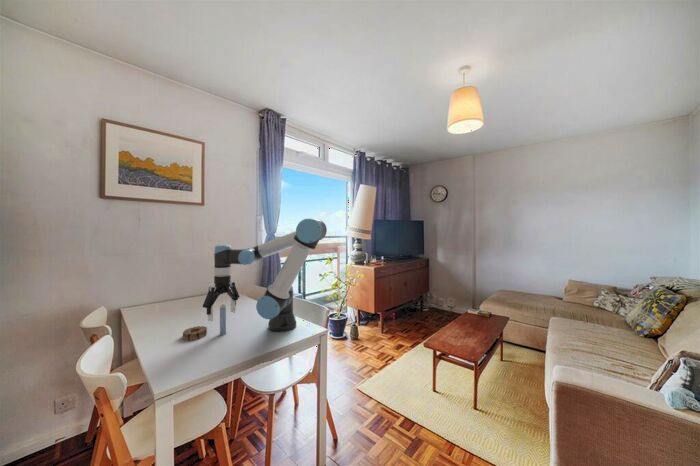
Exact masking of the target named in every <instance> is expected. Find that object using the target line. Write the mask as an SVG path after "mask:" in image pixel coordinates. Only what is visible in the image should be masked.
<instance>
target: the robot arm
mask: <svg viewBox="0 0 700 466" xmlns="http://www.w3.org/2000/svg"><path fill="white" fill-rule="evenodd" d="M327 231H328V228H327V225H326V223H325V222H324V221H322V220H321V219H319V218H313V217H307V218H304V219H302V220H301V221H299V222H298V224H296V228H295V231H293V232H290V233H287V234H284V235H282V236H279V237H277V238H274V239H272V240H269V241H266V242H264V243H261V244H259V245H256V246H253V247H251V248H250V247H249V248H242V249H238V248H237V249H232V246H231V245H230V244H217V245H215V246H214V253H213V256H214V267H213V269H214V270H213V271H214V273H213V274H214V277H213V283H214V286H209V287H208V292H207V294H206V297H205V299H204V302H203V304H202V308H205V309H206V315H207V322H208V321H209V322H213V321H214V307H213V306H214V304H215V302H216V301H217V299H218V297H220V296H221V295H223V294H227V295H228V296H229V298H230V313H232V314H233V313H236V306H237V301H238V299H240V294H239V292H238V290H237V288H236V283H235V281H234V282H233V281H232V280H231V272H232V271H231V268H232V265H244V266H245V265H252V264H253V263H254V262H257V261H259V260H262V259H264V258H267V257H269V256H273V255H275V254H277V253H280V252H283V251H285V250H287V249H290V251H289V253H288V255H287V256H286V258H285V260H284V262H283V264H282V266H281V268H280V270H279V273H277V275H276V278H275V279H274V281H273V283H272V284H270V285H268V287H266V290H265V292H264V294H263V295H262V296H260V297H259V299H258V300H257V301H256V305H255V306H256V308H255V309H256V311H257V314H258V315H259V316H260V317H261V318H263V319H265V320H269V321H268V325H267V326H268V330H269V331H271V332H276V333H278V332H280V333H281V332H283V333H284V332H288V331H290V330H293V329H295V328H296V327H297V319H296V317H295V314H294V288H293V284H294V282H295V281H296V278H297V276H298V275H299V273H300V271H301V269H302V267H303V266H304V263H305V262H306V259H307V258H308V256H309V254H310V252H311V251H314V250H315V249H316V247H317V246H318V244H319V242H320V241H321V240H323V239H324V238H325V237H326V235H327Z"/></svg>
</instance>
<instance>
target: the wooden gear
mask: <svg viewBox="0 0 700 466" xmlns="http://www.w3.org/2000/svg"><path fill="white" fill-rule="evenodd" d="M207 334H208V327H206V326H203V325H202V326H201V325H199V326H193V327H189V328H187V329H185V330H183V332H182V340H184V341H195V340H201V339H202V338H205V337H206V336H207Z"/></svg>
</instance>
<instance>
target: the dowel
mask: <svg viewBox="0 0 700 466" xmlns="http://www.w3.org/2000/svg"><path fill="white" fill-rule="evenodd" d="M226 334H227V306H226V304H220V305H219V335H220V336H225V335H226Z"/></svg>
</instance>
